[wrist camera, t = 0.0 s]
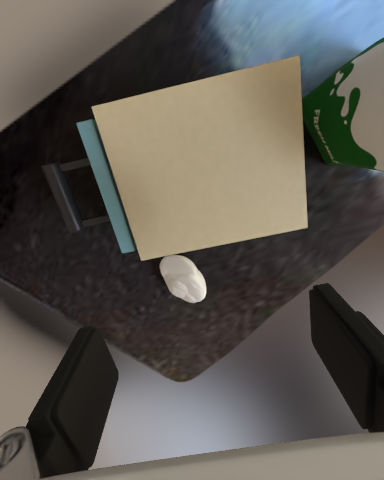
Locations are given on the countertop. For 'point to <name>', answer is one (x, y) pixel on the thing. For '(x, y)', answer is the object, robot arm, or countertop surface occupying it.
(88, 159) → the drawer
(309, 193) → the countertop surface
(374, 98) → the milk carton
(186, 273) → the dumpling
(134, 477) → the robot arm
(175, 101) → the cabinet
